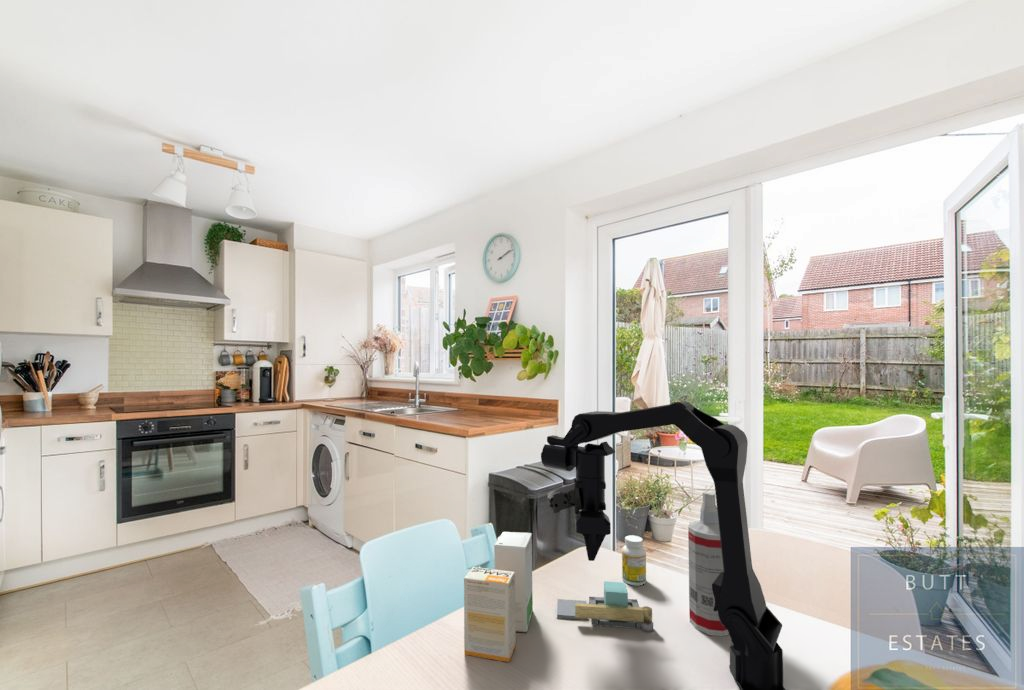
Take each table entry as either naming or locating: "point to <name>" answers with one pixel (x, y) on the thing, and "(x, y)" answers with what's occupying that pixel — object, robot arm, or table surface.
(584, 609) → the clip
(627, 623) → the plug
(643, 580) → the supplement bottle
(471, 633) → the supplement box
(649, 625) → the socket
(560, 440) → the robot arm
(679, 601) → the table surface
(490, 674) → the table surface
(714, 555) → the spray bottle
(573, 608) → the pad
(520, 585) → the skincare box
